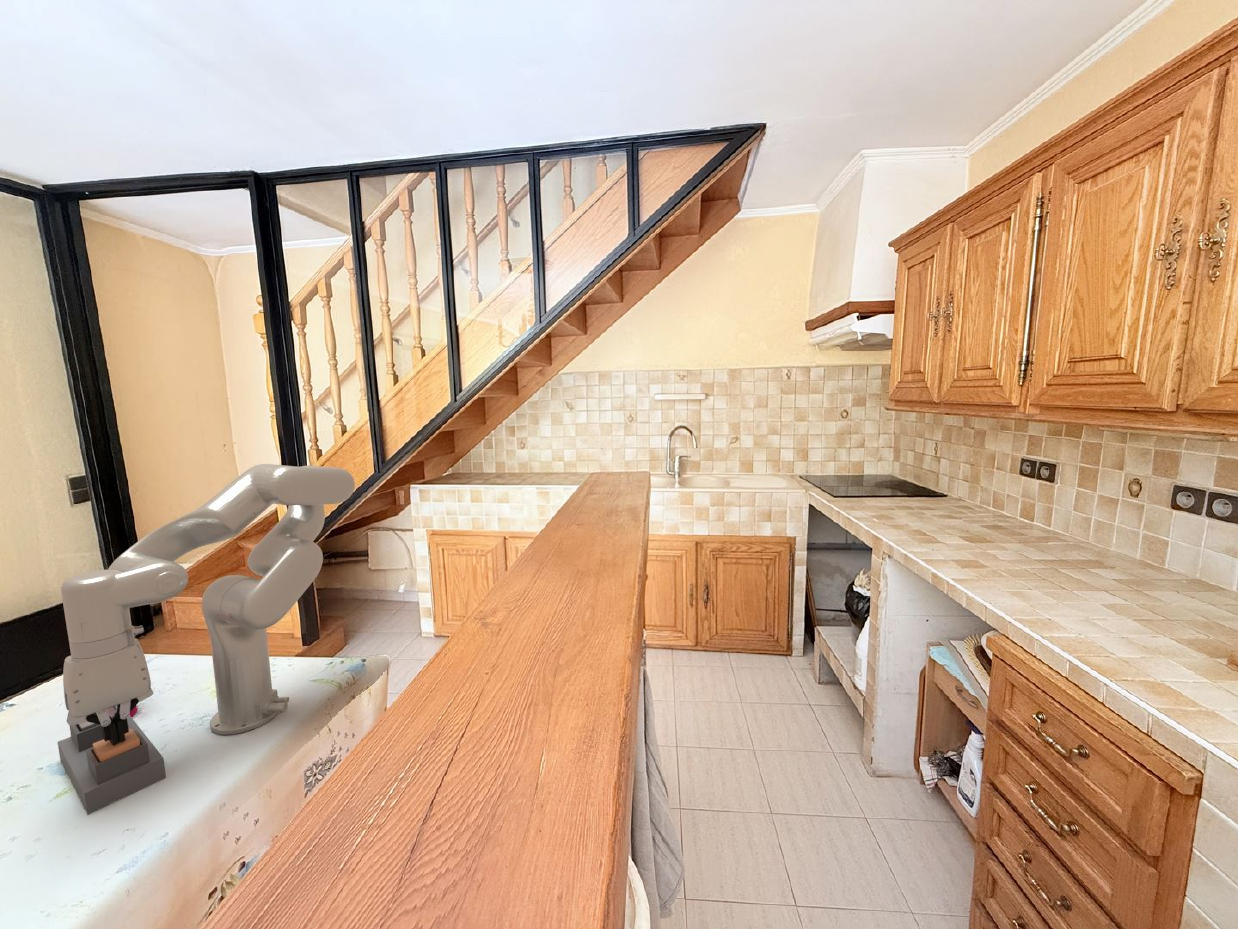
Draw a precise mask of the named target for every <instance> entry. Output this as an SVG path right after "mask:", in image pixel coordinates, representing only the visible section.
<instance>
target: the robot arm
mask: <svg viewBox="0 0 1238 929" xmlns="http://www.w3.org/2000/svg"><path fill="white" fill-rule="evenodd" d="M355 487H356V483H355V479H354V478H353V475H352V473H350V471H348V470H346V469H344V468H340V467H334V466H332V467H331V466H320V465H303V466H301V465H300V466H293V465H286V464H285V465H282V464H273V463H271V464H269V463H260V464H257V465H254V466H251V467H250V468H248V469H246V470H245V471H243V473H241V474H240V475H239V476H238V477H237V478H235V479H234V480H233V481H231V482H230V483H229V484H228V485H226V486H225V487H224V488H223V489H221V490H220V491H219V492H218V493H216V494H215V495H214V496H213V497H211V498H210V499H209V500H208V501H207V502H205V503H203V505H201V506H200V507H198V508H197V509H194V510H193V511H190V512H188V513H186V514H184V515H182V516H180V517H178V518H176V519H174V520H173V521H170V522H168V523H165V524H163V525H161V526H160V527H158V528H156V529H154V530H153V531H151V532H149V533H147V535H144V536H143V537H142V538H140V539H139V540H138V541H137V542H136V543H134V544H133V545H131V546H130V547H129V548H128V549H126V550H125V551H124V552H122V553H121V554H120V555H119V556H118V557H117V558H116V559H114V561H113V562H112V563H111V565H109V567H108V569H99V570H98V569H97V570H92V571H87V572H83V573H78V574H77V575H73V576H71V577H69V578H67V579H66V580H64V582H63V583H62V584H61V587H60V588H61V599H62V604H63V605H62V606H63V611H64V618H65V624H66V631H67V636H68V643H69V649H70V655H69V656H66V657H65V659H64V663H63V670H62V671H63V672H62V674H63V676H62V678H63V679H62V680H63V697H64V703H65V708H66V710H67V711H68V713H67V718H66V723H67V725H68V726H69V725H76V724H81V723H84V722H91V723H95V724H99V725H101V726H102V732H103V738H104V741H105V742H106V741H108V740H109V741H110V742H111V744H112V745H116V744H117V743H118V741H119V742H123V741H125V733H128V732H129V729H128V722H127V718H128V717H129V715H130V712H131V711H132V710H133V709H134V707H135V706H136V705H137V706H138V704H139V703H140V702H143V701H144V700H146V699H149V698H150V697H152V696H153V694H154V691H153V689H152V680H151V676H150V672H149V667H148V664H147V660H146V656H145V654H144V649H143V648H142V646H141V643H140V641H139V639H138V638H136V637H137V635H139V634H142V633H144V632H145V630H144V626H143V625H139V626H137V625H135V626H134V625H132V620H131V612H130V609H131V608H135V607H141V606H146V605H151V604H158V603H161V602H166V601H169V600H170V599H171V600H172V598H175V597H177V596H178V595H180V594H181V593H182V592H183V591H184V590H185V589H186V588H187V584H188V582H189V574H188V571H187V570H186V568H185V567H183V566H182V564H180V563H177V562H175V561H176V560H178V559H179V558H181V557H182V556H184V555H186V554H187V553H190V552H192V551H194V550H196V549H199V548H201V547H205V546H207V545H212V544H215V543H220V542H223V541H226V540H229V539H232V538H234V537H236V536H238V535H239V534H241V533H242V531H244V530H245V529H246V528H247V527H248V526H249V525H251V524H252V522H254V521H255V520H256V519H257V518H258V517H259V516H261V514H263V513H264V512H265V511H266V510H267V509H268V508H269V507H271V506H272V505H281V506H287V508H286V512H285V514H284V515H283V516H282V517H281V518H280V520H279V521H278V522H277V523H276V524H275V525H274V526H273V527H272V528H271V529H270V530H269V531H268V532H267V534H266V535H265V536H264V537H263V538H262V539H260V541H259V542H257V544H256V545H255V546H254V547H253V548H252V550H251V551H250V553H249V554H248V557H247V566H248V569H250V571H251V572H252V573H254V574H255V575H258V576H260V577H262V578H261V579H260V578H256V577H252V576H247V575H243V574H242V575H241V574H232V575H231V574H230V575H225V576H222V577H219V578H217V579H216V580H214V581H213V582H212V583H210V584H209V586H207V588H206V589H205V590H204V592H203V595H202V599H201V611H202V615H203V619H204V621H205V624H206V625H205V626H206V628H207V630H208V635H209V640H210V647H211V657H212V666H213V667H212V668H213V675H214V685H215V693H216V704H217V711H216V713H215V714H214V715H213V716H212V717H211V719H210V721H209V727H210V730H211V732H213V733H215V734H217V735H226V736H227V735H235V734H240V733H245V732H247V731H250V730H254V729H256V728H258V727H261V726H262V725H264V724H266V723H268V722H270V721H271V720H272V719H274V718H275V717H276V716H278V714H279V713H285V712H287V710H288V708H289V702H290V697H288V696H283V697H282V696H281V697H280V696H278V694H279V693H278V689H273V686H272V674H271V665H270V664H271V663H270V655H269V654H270V651H269V644H268V643H269V640H268V633H267V629H268V628H270V627H272V626H274V625H276V624H277V623H279V622H280V621H281V620H282V619H283V618H284V617H285V616H286V615H287V614H288V613H289V611H290V610H291V609H292V608H293V607H294V605H295V604H296V603H297V601H299V599H300V598H301V597H302V596H303V594H304V593H305V592H306V591H307V590H308V589H309V587H310V586H311V585H312V583H313V582H314V581H315V579H316V578H317V577H318V575H319V573H320V571H321V569H322V566H323V560H324V555H323V551H322V548H321V547H320V546H319V545H318V544H317V543H316V542H314V541H315V540H316V538H317V537H318V536H319V534H320V533H321V532H322V530H323V528H324V524H325V520H326V519H325V518H326V516H325V515H326V512H325V505H337V504H341V503H343V502H346V501H347V500H348V499H350V498H351V496H352V495H353V493H354V491H355ZM116 705H117V706H116ZM113 706H116V713H115V715H114V717H113V719H112V718H111V716H109V715H108V713H107V710H106V709H107V708H110V707H113Z"/></svg>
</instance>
